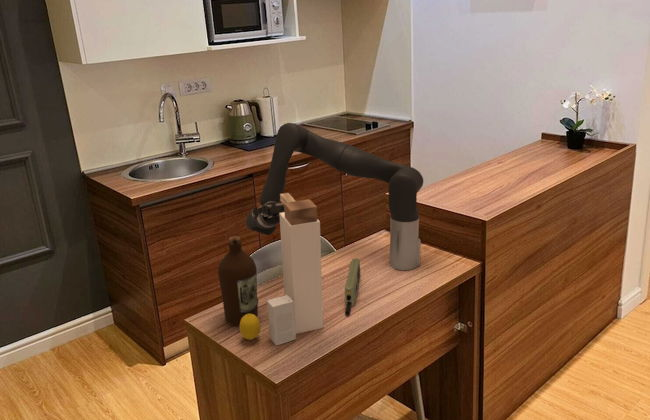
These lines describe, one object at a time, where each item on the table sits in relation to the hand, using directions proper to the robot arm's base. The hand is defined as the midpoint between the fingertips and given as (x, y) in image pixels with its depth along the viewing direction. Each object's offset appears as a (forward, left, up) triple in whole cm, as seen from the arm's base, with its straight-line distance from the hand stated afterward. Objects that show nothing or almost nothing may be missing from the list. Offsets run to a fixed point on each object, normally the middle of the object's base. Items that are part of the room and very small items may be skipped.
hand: (280, 205), depth 170 cm
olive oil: (+16, +10, -29) cm, 34 cm away
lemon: (+16, +22, -29) cm, 40 cm away
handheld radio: (-18, +10, -29) cm, 36 cm away
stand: (0, +19, -28) cm, 34 cm away
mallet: (0, +14, +4) cm, 15 cm away
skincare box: (+8, +25, -29) cm, 39 cm away
